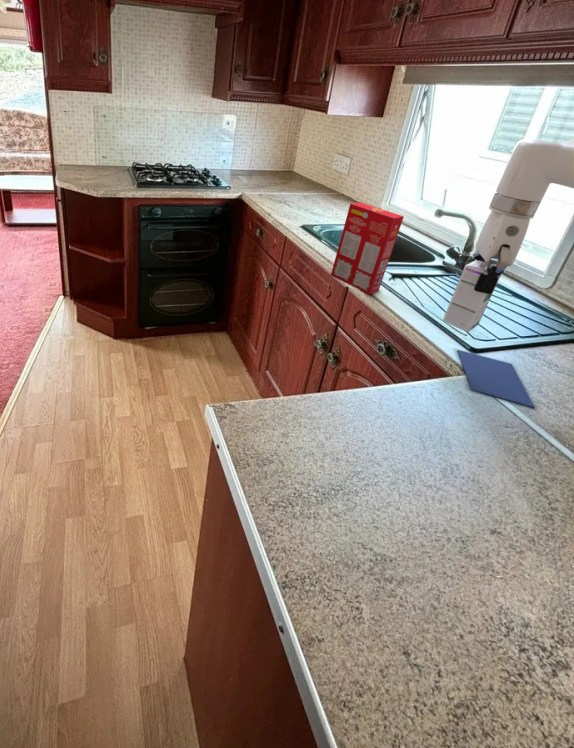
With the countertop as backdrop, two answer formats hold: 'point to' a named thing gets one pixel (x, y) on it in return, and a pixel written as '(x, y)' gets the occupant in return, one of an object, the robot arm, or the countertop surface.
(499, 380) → the cloth
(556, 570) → the countertop surface
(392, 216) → the food packaging
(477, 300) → the syrup box
